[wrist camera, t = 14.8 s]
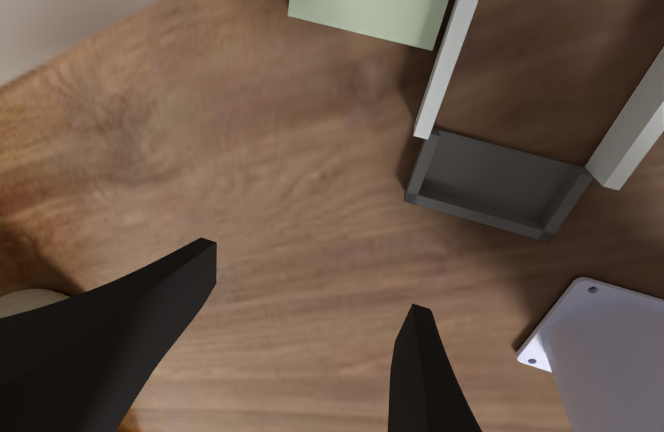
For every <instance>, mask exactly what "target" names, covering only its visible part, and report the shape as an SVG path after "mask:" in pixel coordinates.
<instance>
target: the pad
mask: <svg viewBox="0 0 664 432" xmlns="http://www.w3.org/2000/svg"><path fill="white" fill-rule="evenodd" d="M448 1H449V0H289V8H288V16H290V17H294V18H298V19H302V20H307V21H311V22H315V23H319V24H323V25H327V26H331V27H336V28H340V29H344V30H348V31H352V32H356V33H360V34H364V35H369V36H373V37H377V38H381V39H385V40H389V41H393V42H398V43H402V44H406V45H410V46H414V47H418V48H422V49H427V50H431V51H433V48H434V45H435V41H436V38H437V35H438V32H439V29H440V26H441V23H442V20H443V17H444V13H445V10H446V7H447V4H448Z"/></svg>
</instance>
